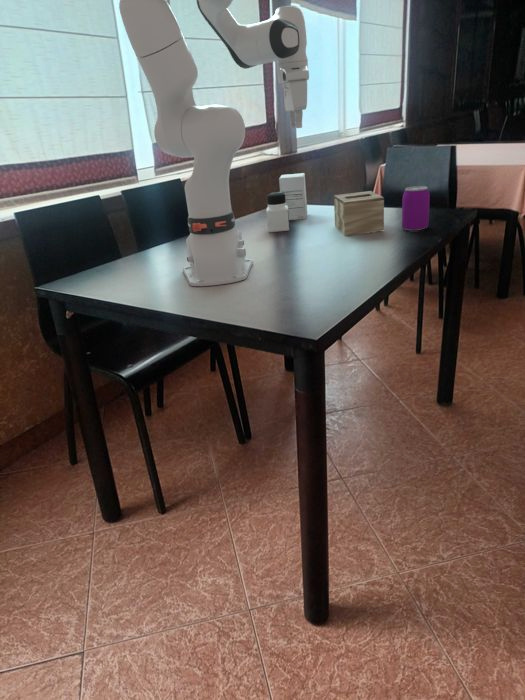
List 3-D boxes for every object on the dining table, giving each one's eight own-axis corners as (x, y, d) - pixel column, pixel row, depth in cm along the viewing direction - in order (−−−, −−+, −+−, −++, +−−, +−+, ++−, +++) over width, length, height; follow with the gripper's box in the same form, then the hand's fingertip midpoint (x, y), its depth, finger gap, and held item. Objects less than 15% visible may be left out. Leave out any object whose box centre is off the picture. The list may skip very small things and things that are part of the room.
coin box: (383, 231, 150) (383, 197, 146) (345, 235, 150) (344, 202, 146) (370, 222, 163) (370, 190, 159) (335, 226, 163) (333, 195, 158)
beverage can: (426, 225, 152) (428, 184, 146) (429, 231, 145) (431, 188, 140) (400, 226, 153) (401, 186, 148) (402, 232, 146) (403, 191, 141)
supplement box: (284, 215, 188) (280, 174, 181) (307, 214, 186) (305, 172, 180) (281, 220, 180) (278, 178, 173) (306, 219, 178) (303, 175, 172)
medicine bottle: (289, 230, 164) (286, 193, 159) (268, 232, 164) (264, 195, 159) (289, 226, 170) (286, 190, 165) (268, 228, 171) (265, 192, 166)
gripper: (277, 78, 150) (281, 128, 156) (286, 73, 132) (290, 129, 138) (298, 76, 150) (301, 125, 156) (309, 70, 132) (312, 127, 138)
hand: (296, 127), depth 147 cm, fingers open, 8 cm apart
